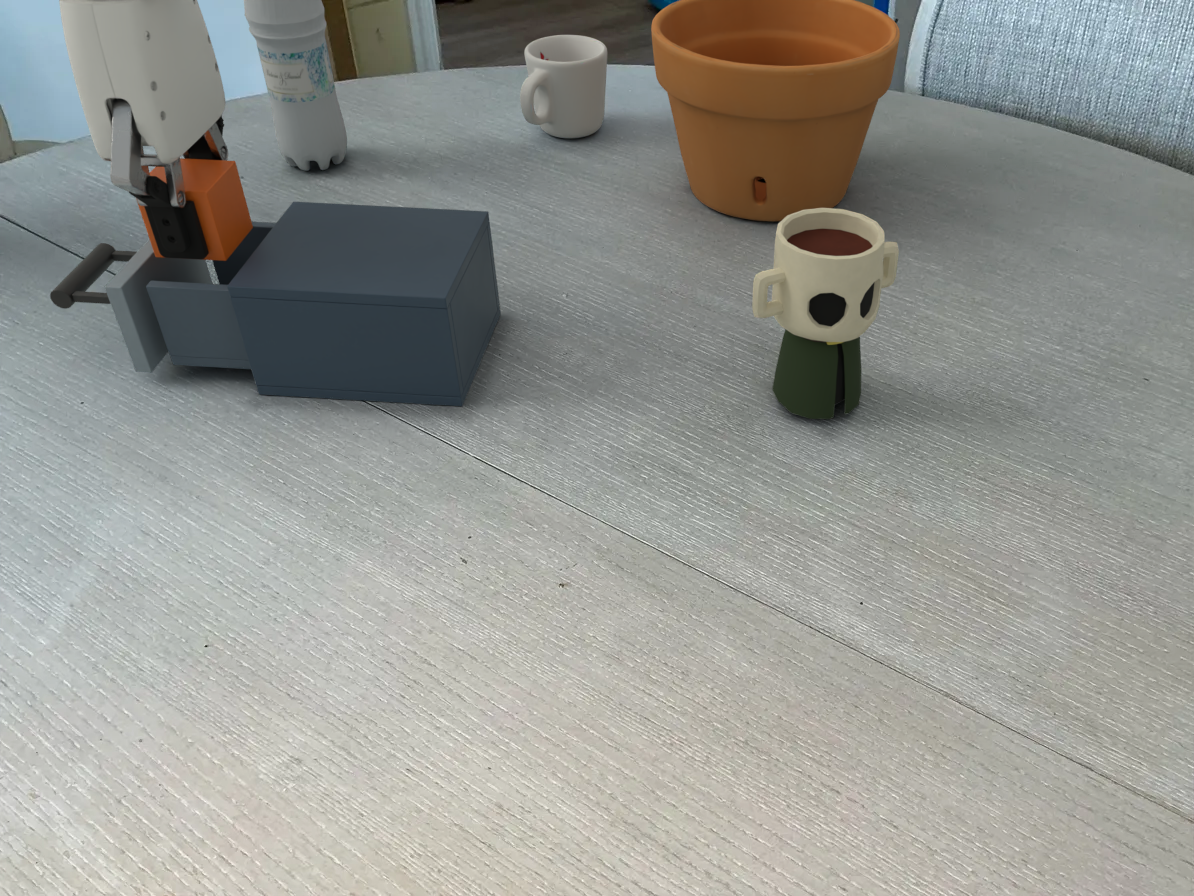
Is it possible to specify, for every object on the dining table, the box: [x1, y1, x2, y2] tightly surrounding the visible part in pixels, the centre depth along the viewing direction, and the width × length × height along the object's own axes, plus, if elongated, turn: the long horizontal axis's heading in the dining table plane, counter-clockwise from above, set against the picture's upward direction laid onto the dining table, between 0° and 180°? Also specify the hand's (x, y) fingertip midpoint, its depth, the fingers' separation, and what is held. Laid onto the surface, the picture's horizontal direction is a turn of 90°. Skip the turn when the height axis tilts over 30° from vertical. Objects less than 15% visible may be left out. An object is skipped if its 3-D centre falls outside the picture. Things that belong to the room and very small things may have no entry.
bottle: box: [243, 0, 348, 171], centre depth 105 cm, size 7×7×20 cm
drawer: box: [49, 220, 277, 374], centre depth 85 cm, size 19×11×7 cm, turn 86°
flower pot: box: [650, 0, 901, 222], centre depth 104 cm, size 21×21×15 cm
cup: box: [519, 34, 608, 139], centre depth 115 cm, size 11×8×8 cm
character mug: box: [751, 207, 900, 420], centre depth 79 cm, size 11×7×13 cm, turn 117°
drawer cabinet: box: [227, 201, 502, 407], centre depth 84 cm, size 15×13×9 cm
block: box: [135, 157, 253, 261], centre depth 81 cm, size 5×5×5 cm
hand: (202, 234), depth 82 cm, fingers closed on block, 5 cm apart
